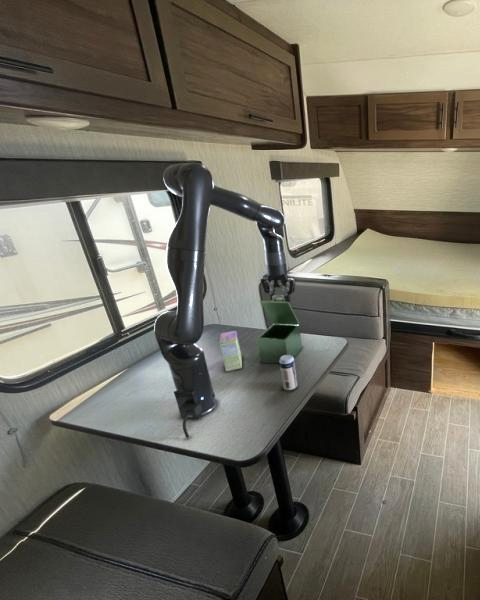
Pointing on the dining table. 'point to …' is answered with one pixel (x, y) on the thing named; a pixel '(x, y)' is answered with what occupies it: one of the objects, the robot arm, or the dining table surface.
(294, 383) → the beer can
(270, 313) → the bin lid
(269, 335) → the trash bin
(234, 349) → the box
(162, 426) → the dining table surface
